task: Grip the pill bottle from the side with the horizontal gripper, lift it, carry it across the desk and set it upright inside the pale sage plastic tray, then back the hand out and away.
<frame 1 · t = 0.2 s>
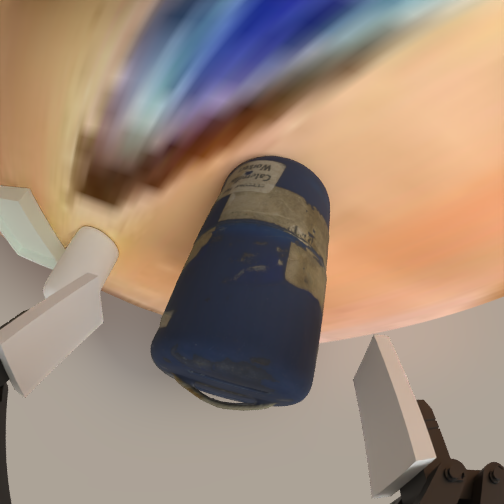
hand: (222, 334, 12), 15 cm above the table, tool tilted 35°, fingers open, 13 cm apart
pill bottle: (100, 241, 38), on the table
canister: (277, 193, 25), on the table
tray: (25, 223, 41), on the table
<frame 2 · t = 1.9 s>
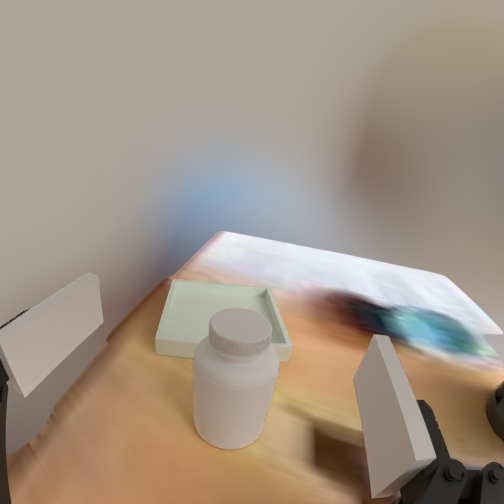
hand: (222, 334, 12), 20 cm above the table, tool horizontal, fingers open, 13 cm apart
pill bottle: (227, 425, 27), on the table
tray: (221, 323, 48), on the table
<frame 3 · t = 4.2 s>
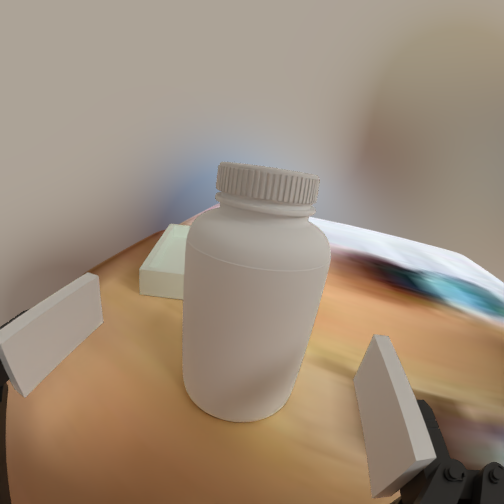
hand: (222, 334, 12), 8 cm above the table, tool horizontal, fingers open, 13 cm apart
pill bottle: (235, 386, 19), on the table
tray: (227, 268, 39), on the table
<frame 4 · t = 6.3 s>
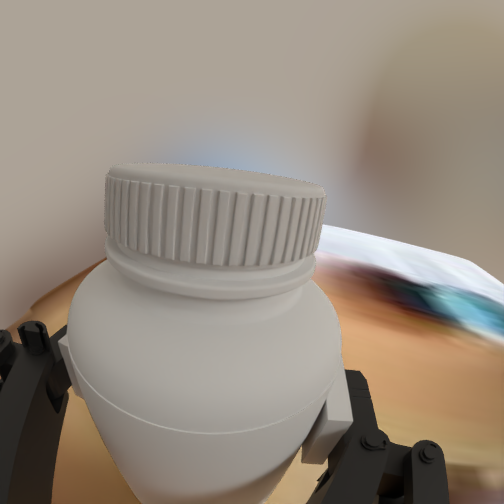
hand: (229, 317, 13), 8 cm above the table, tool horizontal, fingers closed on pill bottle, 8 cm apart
pill bottle: (197, 474, 11), on the table, touching gripper
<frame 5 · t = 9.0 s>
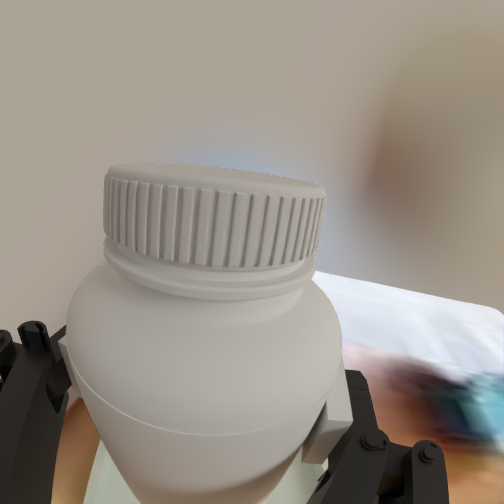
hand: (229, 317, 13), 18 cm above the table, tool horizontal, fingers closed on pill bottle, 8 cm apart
pill bottle: (197, 475, 11), point 10 cm above the table, touching gripper
tray: (213, 471, 19), on the table
when the fingers open (10 cm above the table, at t = 11.6 s): pill bottle drops 1 cm, resting on tray.
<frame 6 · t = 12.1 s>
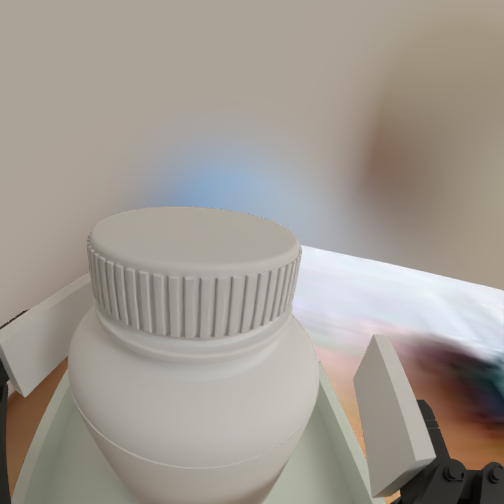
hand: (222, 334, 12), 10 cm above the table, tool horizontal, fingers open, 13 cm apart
pill bottle: (197, 483, 12), point 1 cm above the table, touching tray
tray: (197, 487, 12), on the table
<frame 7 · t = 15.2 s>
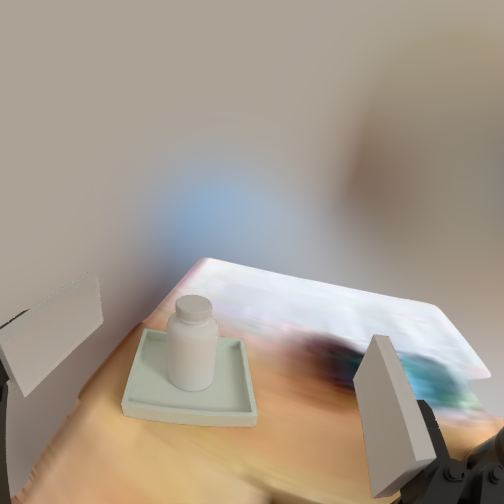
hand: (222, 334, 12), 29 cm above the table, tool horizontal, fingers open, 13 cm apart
pill bottle: (190, 377, 43), point 1 cm above the table, touching tray
tray: (190, 380, 44), on the table
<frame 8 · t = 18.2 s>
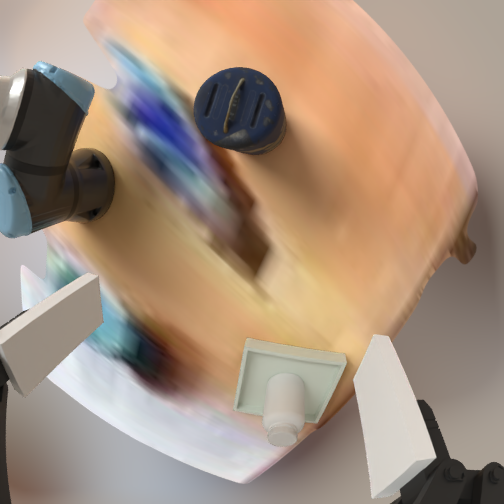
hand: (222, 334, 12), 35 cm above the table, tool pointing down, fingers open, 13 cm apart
pill bottle: (286, 384, 54), point 1 cm above the table, touching tray
canister: (256, 127, 41), on the table
tray: (286, 381, 55), on the table
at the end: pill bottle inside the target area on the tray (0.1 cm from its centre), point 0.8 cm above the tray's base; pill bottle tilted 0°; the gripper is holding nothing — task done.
